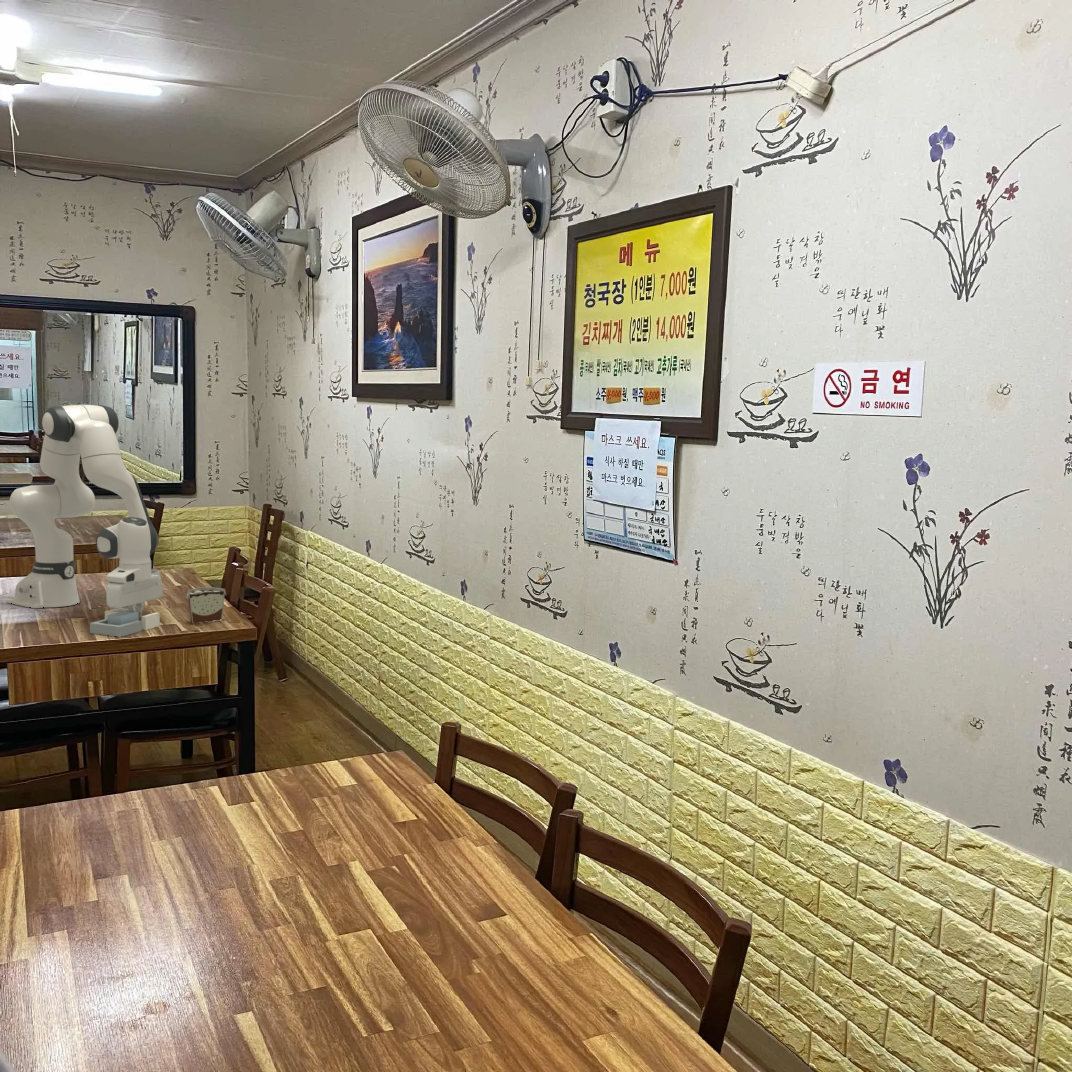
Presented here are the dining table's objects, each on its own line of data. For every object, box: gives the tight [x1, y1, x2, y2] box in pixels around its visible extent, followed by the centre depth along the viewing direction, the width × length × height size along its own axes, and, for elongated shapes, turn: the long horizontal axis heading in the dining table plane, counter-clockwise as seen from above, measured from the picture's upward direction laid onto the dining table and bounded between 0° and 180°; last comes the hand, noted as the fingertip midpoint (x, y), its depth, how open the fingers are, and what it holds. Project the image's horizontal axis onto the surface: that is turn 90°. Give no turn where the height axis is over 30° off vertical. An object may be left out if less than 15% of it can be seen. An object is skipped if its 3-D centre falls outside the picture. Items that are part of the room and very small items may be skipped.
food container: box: [185, 586, 227, 623], centre depth 302 cm, size 12×6×10 cm, turn 131°
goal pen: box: [89, 618, 143, 638], centre depth 283 cm, size 10×9×3 cm
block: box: [108, 611, 140, 625], centre depth 286 cm, size 5×7×5 cm
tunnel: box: [104, 607, 161, 631], centre depth 292 cm, size 15×6×4 cm, turn 71°
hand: (136, 617), depth 291 cm, fingers closed
